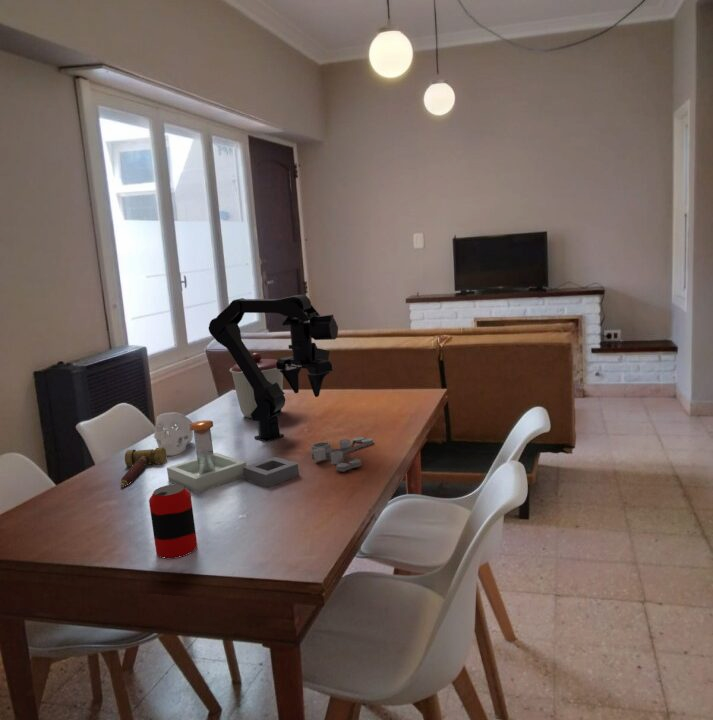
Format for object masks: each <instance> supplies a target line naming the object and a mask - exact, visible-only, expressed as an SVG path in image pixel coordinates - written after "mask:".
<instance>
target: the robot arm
mask: <svg viewBox="0 0 713 720" xmlns="http://www.w3.org/2000/svg"><path fill="white" fill-rule="evenodd" d="M253 313H255V314H256V313H257V314H260V313H261V314H278V315H281V316H283V317H286V318H285V320H284V321H283V322H281V325H282V326H289V332H290V333H289V334H290V343H291V344H288V345H287V346H288V349H289V350H291V352H292V353H291V354H292V356H291V355H290V356H286V357H282V358H278V359H277V360H278V361H277V362H276V365H277V369H281V370H280V372H281V373H282V374H283V378H284V379H285V380H286V382H287V383H288V385H289V386H290V388H291V389H292V391H293V392H294V394H298V393H299V392H300V391H299V390H300V389H299V388H300V387H299V385H300V383H299V381H300V380H299V373H300V372H301V369H306V370H307V371H308V374H307V378H308V381H309V383H310V387H311V389H312V392H313V395H314V398H318V397H319V396H320V392H321V390H322V389H321V388H322V384H323V381H324V378H325V377H327V375H328V374H330V372H331V371H332V372H333V371H334V370H333V363H332V362H331V361H330V359H329V358H330V353H331V351H330V350H328V349H323V348H319V347H318V346H317V344H316V342H313V341H312V338H313V339H314V340H315V341H328V340H331V341H332V340H336V339H337V337H338V333H339V326H338V324H337V321H336V319H335V317H334V314H327V315H320V314H319V312H318V311H317V310H316V309H315V307H314V306H313V304H312V301H311V300H310V298H309V297H308V296H307V295H305V294H298V295H292V296H287V297H282V298H243V297H241V298H237V299H236V298H235V299H232V301H231V302H230V303H229V304H228V306H227V307H226V308H225V309H224V310H222V311H221V312H220V313H219V314H218V315H216V317H215V318H213V319H211V320H210V322H209V323H208V332H209V333H210V335H211V336H212V338H214V340H215V341H216V342H217V343H219V344H220V345H221V346H223V347H224V348H226V349H227V351H228V352H229V353H230V355H231V357H232V358H233V360H234V362H235V364H237V365H238V366H239V368H240V370H241V371H242V373H243V374H244V376H245V377H246V379H247V381H248V382H249V384H250V385H251V387H252V388H253V392H254V400H255V402H256V404H257V407H256V408H255V410H254V411H253V412H252V413H251V417H252V418H251V419H252V421H253V422H256V424H257V433H258V435H255V436H254V437H253V438H254V439H255V440H259V441H263V442H269V441H274V440H276V439H279V438H283V437H285V434H284V433H281V432H280V424H279V417H278V415H280V414H281V413H282V409H283V408H284V407H285V404H286V397H285V394H286V393H285V392H284V391H282V390H281V389H280V386H279V384H278V383H277V382H276V383H274V384H271V383H270V382H268V381H267V379H266V378H265V376H264V375H263V373H262V371H261V370H260V368H259V367H258V365H257V364H256V362H255V360H254V359H253V357H252V356H251V355H252V354H251V352H250V351H249V350H248V348H247V346H246V344H244V343H245V342H243V339H242V335H241V328H240V326H239V324H240V322H241V321H242V320H243V318H244V315H245V314H253Z"/></svg>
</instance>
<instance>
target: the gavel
mask: <svg viewBox="0 0 713 720" xmlns="http://www.w3.org/2000/svg"><path fill="white" fill-rule="evenodd" d="M165 461H166V462H167V456H166V450H165V448H164V447H161V448H159V447H155V449H153V448H151V449H141V450H139V449H138V450H136V449H127V450H126V451H125V453H124V462H125V466H126V467H127V466H130V468H129V469H128V470H127V472H126V473H124V475H123V476H122V477H121V479H120V481H121V482H120V487H121V488H124V487H123V486H125V485H127V484H129V483H130V482H132V481H134V480H135V479H136V478H137V476H138V475H139V474H140V473H141V471H142V470H143V469H144V468H145V466H146V465H145V464H147V465H154V464H155V465H164V464H166V462H165ZM153 463H154V464H153ZM163 463H164V464H163ZM132 465H133V466H132ZM129 485H130V484H129ZM127 486H128V485H127ZM125 487H126V486H125Z"/></svg>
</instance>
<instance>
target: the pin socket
mask: <svg viewBox="0 0 713 720" xmlns="http://www.w3.org/2000/svg"><path fill="white" fill-rule="evenodd" d="M243 471H244V477H243V479H244V480H246V481H249V482H252V483H254V484H256V485H260V486H263V487H265V488H270V487H271V486H275V485H277V484H279V483H282V482H285V481H287V480H291V479H293V478H298V477H299V476H300V469H299V463H297V462H294V461H290V460H287V459H283V458H282V457H281V458H280V457H278V456H273V457H270V458H268V459H264V460H260V461H257V462H254V463H252V464H248V465H246V466H245V467H243Z"/></svg>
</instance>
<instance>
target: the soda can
mask: <svg viewBox="0 0 713 720" xmlns="http://www.w3.org/2000/svg"><path fill="white" fill-rule="evenodd" d="M148 504H149V509H150V518H151V524H152V532H153V539H154V546H155V553H156V555H157V556H159V557H160V556H161V557H160V558H162V557H165V558H164V559H167V558H171V559H176V558H175V557H179V556H182V557H184V556H183V555H185V556H187V555H186V554H188V553H190V552H191V553H193V552H194V551H195V550H196V548H197V546H198V540H197V533H196V526H195V525H196V523H195V519H194V518H195V517H194V511H193V502H192V494H191V492H190V490H188V489H186V488H185V487H184V486H183V485H177V484H167V485H163V486H160V487H158V488H156V489H155V490H153V492H152V494H151V496H150V497H149V500H148ZM194 549H195V550H194ZM193 550H194V551H193ZM192 551H193V552H192ZM191 553H190V554H191ZM188 555H189V554H188ZM179 558H180V557H179Z"/></svg>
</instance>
